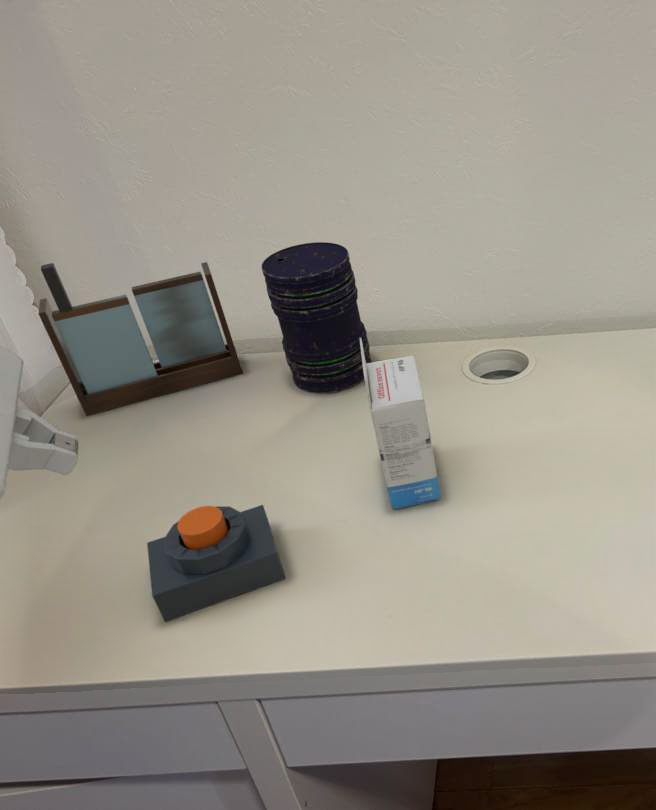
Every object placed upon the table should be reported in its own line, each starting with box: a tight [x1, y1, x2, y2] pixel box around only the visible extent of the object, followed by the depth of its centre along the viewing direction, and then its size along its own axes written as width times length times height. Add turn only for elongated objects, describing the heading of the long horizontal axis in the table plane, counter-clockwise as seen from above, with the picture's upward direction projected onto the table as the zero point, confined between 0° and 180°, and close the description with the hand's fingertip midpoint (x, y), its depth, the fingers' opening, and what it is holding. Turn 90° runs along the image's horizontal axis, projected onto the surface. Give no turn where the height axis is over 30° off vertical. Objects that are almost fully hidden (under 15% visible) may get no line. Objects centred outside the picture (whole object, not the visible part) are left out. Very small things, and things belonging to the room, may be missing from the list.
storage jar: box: [261, 241, 373, 395], centre depth 94 cm, size 10×10×15 cm
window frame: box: [37, 261, 244, 417], centre depth 94 cm, size 18×4×14 cm, turn 116°
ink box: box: [360, 337, 441, 510], centre depth 75 cm, size 8×5×15 cm, turn 14°
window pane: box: [40, 262, 158, 394], centre depth 90 cm, size 8×1×16 cm, turn 116°
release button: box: [177, 505, 228, 549], centre depth 67 cm, size 4×4×2 cm
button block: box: [146, 504, 287, 623], centre depth 69 cm, size 10×7×5 cm
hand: (74, 456), depth 59 cm, fingers closed
